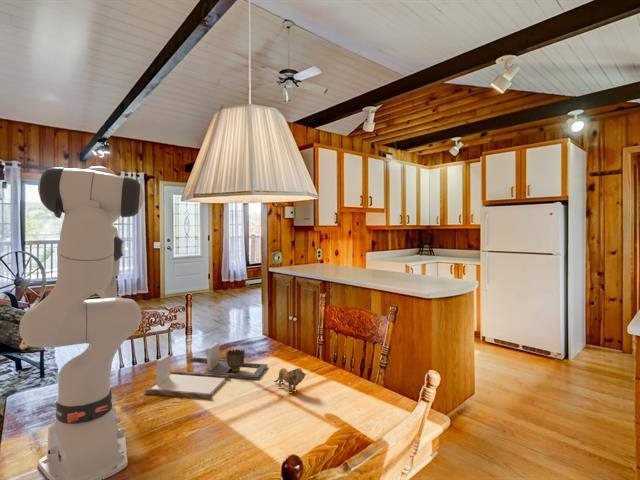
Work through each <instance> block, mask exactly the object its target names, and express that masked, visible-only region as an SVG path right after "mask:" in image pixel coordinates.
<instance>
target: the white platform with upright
mask: <svg viewBox="0 0 640 480" xmlns="http://www.w3.org/2000/svg"><path fill="white" fill-rule="evenodd" d="M170 360H171V355H170V354H164V355H163V356H162V357H160V358H158V359H157V360H156V383H155V385H154V386H152V387H150V388H151V389H163V390H174V391H186V392H198V393H210V394H212V395H213V394H214V393H215V392H216V390H217V389H219V388H220V387H221V386H222V384H224V383H225V381H226V380H225V378H215V377H202V376H189V375H176V374H171V371H170V368H171V367H170V365H171V364H170V362H171V361H170Z"/></svg>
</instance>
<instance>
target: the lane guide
mask: <svg viewBox="0 0 640 480" xmlns="http://www.w3.org/2000/svg"><path fill="white" fill-rule="evenodd" d="M193 361H196V363H207V357H196V356H195V357H194V356H192V357H190V362H193ZM219 361H227V358H226V359H224V358H222V359H221V358H219ZM243 363H245V361H244V362H243ZM171 374H176V375H189V376H202V377H215V378H225V381H230V380H231V377H230V375H219V374H206V373H204V372H192V371H191V372H190V371H179V370H178V371H177V370H171V371H170V375H171ZM229 379H230V380H229ZM151 388H152V387H150V388H149V387H148V388H147V387H146V388H145V390H144V391H145V392H144V394H147V395H157V396H166V397H167V396H168V397H169V396H170V397H178V398H179V397H180V398H193V399H203V400H212V395H213V394H210V393H198V392H186V391H174V390H163V389H151Z"/></svg>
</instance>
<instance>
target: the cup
mask: <svg viewBox="0 0 640 480" xmlns="http://www.w3.org/2000/svg"><path fill="white" fill-rule="evenodd" d="M225 354H226V360H227V363H228V366H229V367H230V368H231V371H230V372H232V373H238V372H240V370H241V367H243V366H242V365H243V362H244V363H245V354H246V352H245V350H244V349H241V350H240V349H239V348H238V349H232V350H231V349H229V350H227V352H225Z"/></svg>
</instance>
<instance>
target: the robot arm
mask: <svg viewBox="0 0 640 480" xmlns="http://www.w3.org/2000/svg"><path fill="white" fill-rule="evenodd" d="M141 185H142V184H141V183H140V182H139V181H138V179H135V178H133V177H129V176H126V175H124V176H121V175H117V174H116V173H115V172H114V171H113V170H111V169H110V168H108V167H104V166H100V165H97V166H96V165H95V166H90V167H88V168H87V167H86V168H85V169H83V168H82V169H81V168H66V167H61V166H60V167H59V166H58V167H48V168H47V169H45V170H44V171H43V172H42V173H41V176H40V178H39V180H38V185H37V191H38V195H39V199H40V202H41V204H42V205H43V206H44V207H45V208H46V209H47V210H48V211H49V212H52V213H54V217H56V218H57V219H60V218H61V217H62V214H64V216H63V221H62V223H61V229H60V234H59V241H58V243H57V246H56V247H57V248H56V253H57V256H58V268H57V269H58V270H57V276H56V277H57V278H56V282H55V283H54V284H55V285H54V287H52V289H51V291H50V292H49V294H48V295H46V296H45V298H44V299H42V300H41V301H39V302H38V303H37V304H35V305H33V306H31V307H30V308H29V309H28V310H27V311H26V312H25V313H24V314H23V316H22V317H21V319H20V322H19V324H18V325H19V326H18V332H19V336H20V337H21V339H22V341H23V342H24V343H25V344H26V345H27V346H29V348H44V349H45V348H51V349H53V348H62V347H68V346H69V347H70V346H75V345H82V344H83V345H84V344H88V346H87V347H86V349H85V350H84V351H83V352H81V353H80V354H79V355H76V356H75V357H73V358H71V359H70V360H68V361H66V363H64V364H63V366H61V368H60V370H59V371H58V372H59V373H58V377H57V378H58V387H57V388H58V390H57V391H58V392H57V396H58V397H57V398H58V399H57V400H56V403H55V410H54V411H55V420H53V423H51V424H50V426H49V427H48V430H47V431H48V432H47V451H46V455H45V456H42V457H41V458H39V460H38V462H37V467H38V469H39V470H40V471H41V472H42V473H43V475H44V476H45V477H46V478H47V480H48V479H49V480H102V479H103V480H106V479H107V478H109V477H112V476H113V475H116V474H117V473H119V472H121V471H122V470H124V469H125V468H126V467H127V466H128V464H129V462H128V461H129V460H128V450H127V441H126V440H127V438H126V433H125V427H120V428H117V424H120V423H121V417H117V408H115V407H114V406H113V395H112V393H113V392H112V389H111V384H110V383H111V374H112V373H111V372H112V365H113V361H114V358H115V356H116V354H117V352H118V350H119V349H120V347H121V346H122V344H123V343H124V342H125V341H126V340H127V339H128V338H129V337H131V336H132V335H133V334H134V333H135V332H137V330H138V329H139V327H140V325H141V322H142V319H143V318H142V310H141V307H140V305H139V304H138V303H137V302H136V301H135V299H132V298H127V297H126V298H125V297H124V298H123V297H118V281H117V277H116V276H118V275H120V259H121V258H122V257H123V256H124V251H123V248H124V247H123V244H124V240H122V238H120V237H119V231H118V228H117V227H116V226H114V225H113V224H114V223H115V222H117V220H118V219H119V218H120V217H121V218H131V217H135V216H136V215H137V214H138V213H139V211H140V210H141V209H142V207H143V204H144V200H145V199H144V198H145V195H144V191H143V188H142V186H141ZM95 294H96V295H98V296H99V297H100V298H89V297H91V296H93V295H95ZM87 298H89V299H87Z"/></svg>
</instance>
